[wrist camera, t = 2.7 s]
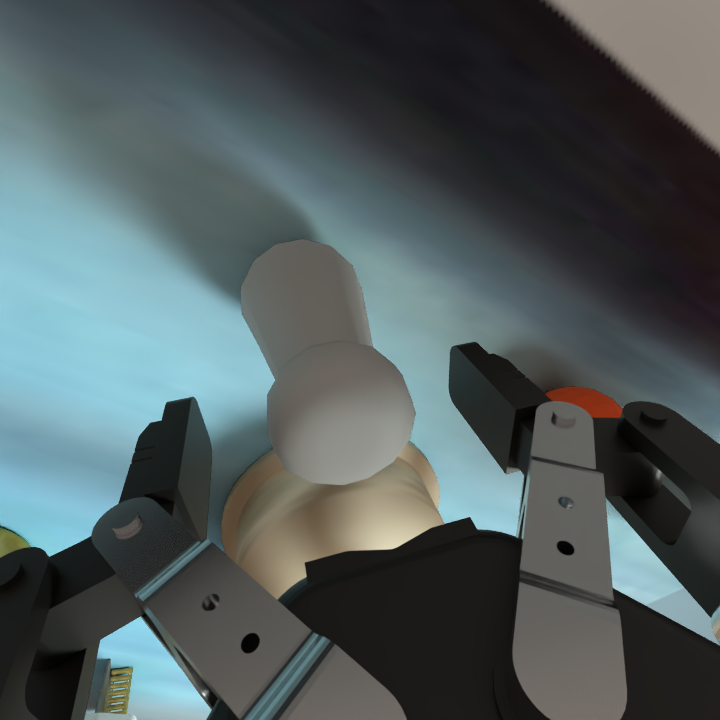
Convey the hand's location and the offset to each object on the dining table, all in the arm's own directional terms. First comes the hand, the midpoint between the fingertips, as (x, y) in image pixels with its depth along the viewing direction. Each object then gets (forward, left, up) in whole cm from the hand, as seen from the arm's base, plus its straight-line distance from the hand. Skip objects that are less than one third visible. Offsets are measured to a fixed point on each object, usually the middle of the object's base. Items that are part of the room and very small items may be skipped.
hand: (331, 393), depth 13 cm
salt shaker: (0, 0, -11) cm, 11 cm away
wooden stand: (0, +18, -11) cm, 21 cm away
